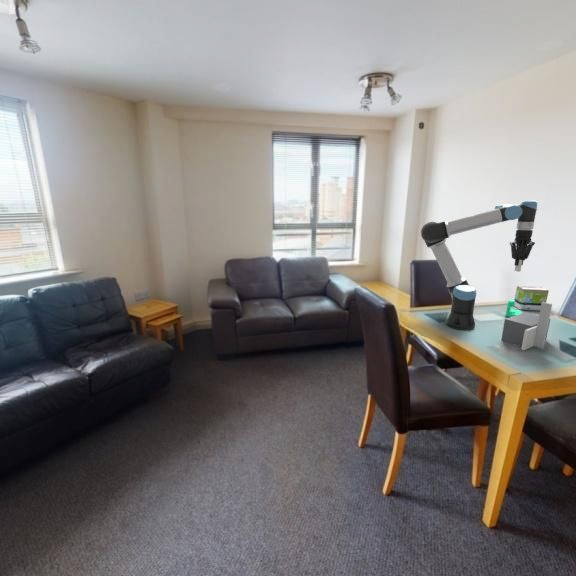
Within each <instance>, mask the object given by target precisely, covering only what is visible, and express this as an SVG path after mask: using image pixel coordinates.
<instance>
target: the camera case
mask: <svg viewBox="0 0 576 576" xmlns="http://www.w3.org/2000/svg"><path fill="white" fill-rule="evenodd" d="M538 319H539V315H537V314H532V313H528V312H521V314H518V315H515V316H512V317H509V316H508V317H506V318H504V322H503V327H502V334H501V340H500V341H503V342H505V343H509V344H512V345H513V346H517V347H520V348H522V343H523V338H524V332H525V330H526V329H529V328H531V327H534V326H537V325H538ZM550 324H551V318H549V323H548V328H547V333H546V338H545V342H546V341H547V338H548V334H549V333H548V332H549V327H550Z"/></svg>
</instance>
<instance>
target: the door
mask: <svg viewBox="0 0 576 576" xmlns="http://www.w3.org/2000/svg"><path fill="white" fill-rule="evenodd" d="M552 309H553V303H550V302H546V303H545V302H542V304H541V309H540V310H539V314H538V316H539V319H538V325H537V326H534V327H531V328H529V329H526V330H525V332H524V338H523V343H522V347H520V348H521V350H522V351H526V350H527V349H530V348H532V347H538V348H542V349H543V348H544V346H545V343H546V341H545V338H546V333H547V328H548V323H549V319H551V318H550V316H551V313H552ZM547 334H548V333H547ZM546 339H547V338H546Z"/></svg>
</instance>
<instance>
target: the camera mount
mask: <svg viewBox="0 0 576 576" xmlns="http://www.w3.org/2000/svg"><path fill="white" fill-rule="evenodd" d="M507 300H508V301H507V306H506V313H505V317H508V318H509V317H512V316H515V315H518V314H521V313H522V310H519V309H517V310H516V309H511V308H514V307H515V306H514V303H515V301H514V299H513V300H512V299H507Z"/></svg>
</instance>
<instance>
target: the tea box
mask: <svg viewBox="0 0 576 576" xmlns="http://www.w3.org/2000/svg"><path fill="white" fill-rule="evenodd" d="M549 291H550V290H548V289H547V288H545V287H542V286H526V285H525V286H524V285H517V286H516V290H515V295H514V299H513V300H514V301H515V303H514V307H515V308H517V310H519V311H522V310H527V311H540V309H541V304H542V302H545V303H547V300H548V296H549Z"/></svg>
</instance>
